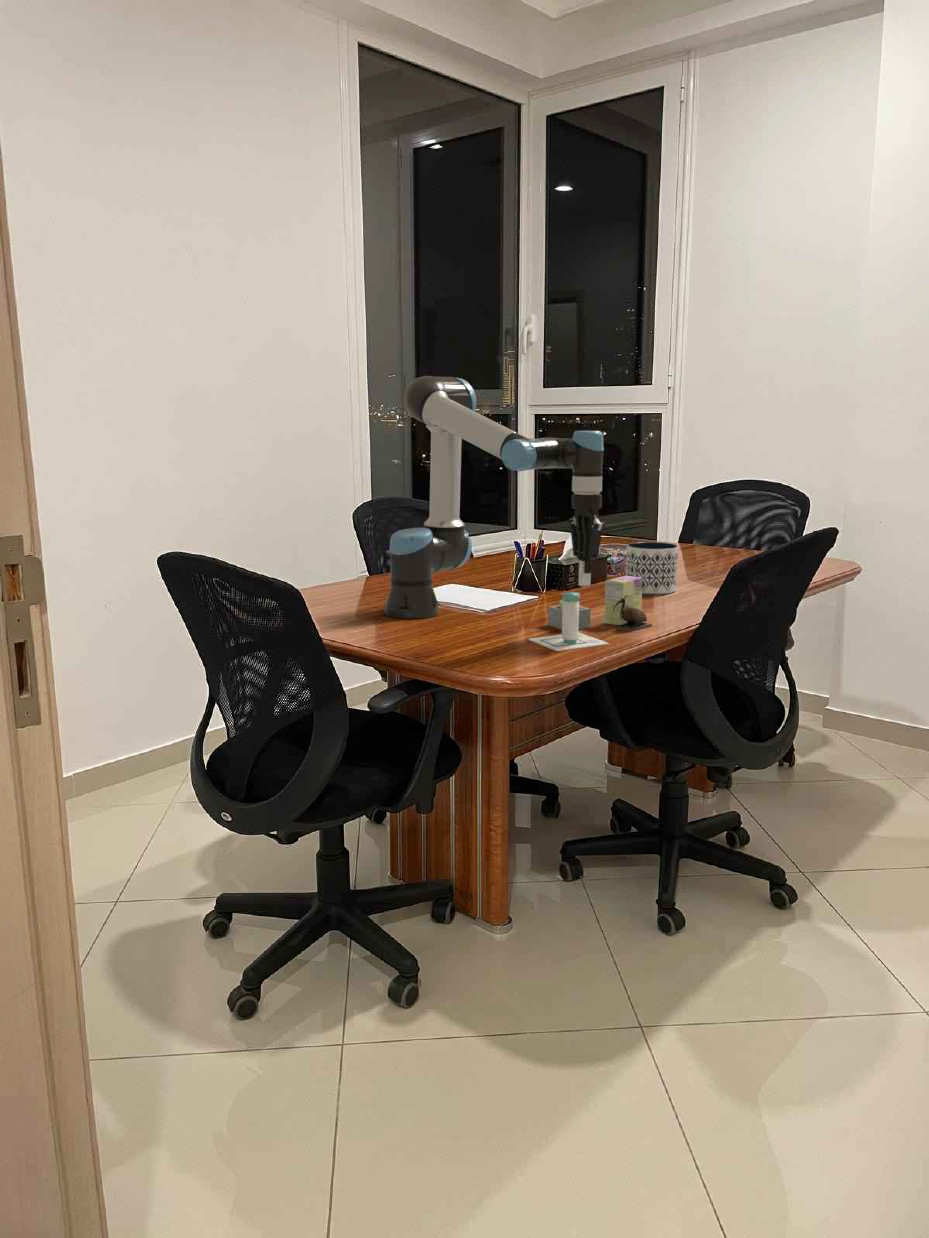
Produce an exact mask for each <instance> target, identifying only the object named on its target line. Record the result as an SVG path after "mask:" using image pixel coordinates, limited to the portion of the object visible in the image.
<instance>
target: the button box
mask: <svg viewBox="0 0 929 1238" xmlns="http://www.w3.org/2000/svg"><path fill="white" fill-rule="evenodd" d="M591 609H592V608H589V607H585V606H583V605H579V630H581V629H582V630H583V629H590V628H591ZM547 626H550V627H553V628H555V629H558V630H561V631H562V609H560V604H558V605H548V606H547Z"/></svg>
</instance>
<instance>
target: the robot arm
mask: <svg viewBox="0 0 929 1238" xmlns="http://www.w3.org/2000/svg"><path fill="white" fill-rule="evenodd" d="M403 396H404V397H403V402H404V406H405V409H406V411H407V412H408V414H409V415H410V416H411V417H413V418H414V420H415V419H416V420H417V421H419V422H421V423H423V424H425V427H426V428H427V429H428V430H429V431H430V465H429V466H430V469H429V470H430V472H429V473H430V474H429V475H430V477H429V479H430V480H429V517H428V519H426V520H425V522H424V523H423V527H412V528H404V529H400V530H397V531H395V532H393V533H392V534H391V536H390V540H389V548H388V549H389V568H390V569H389V570H390V588H389V591H388V593H387V598H386V601H385V605H384V614H385V616H387V617H391V618H394V619H395V618H396V619H424V618H432V617H434V616H437V615H438V614H440V611H439V609H440V607H439V603H438V599H437V596H436V593H435V589H434V587H433V574H434V573H438V572H445V571H452V570H456V569H457V568H460V567H462V566H464V565H465V563H467V562H468V561H469V560H470V559H469V558H470V556H471V554H472V550H473V543H472V542H473V541H472V539H471V537H470V535H469V532H468V531H466V530H465V523H464V522H463V520H462V519H461V518H460V513H461V512H460V511H461V510H460V508H461V505H460V504H461V474H462V472H461V470H462V440H464V441H466V442H468V443H469V444H471V445H474V446H475V447H477V448H479V449H481V450H483V451H485V452H486V453H489V454H491V455H493V456H495V457H497V458H499V459H500V460H502V463H503V464H504V466H505V468H507V469H509V470H511V471H517V472H524V471H529V470H530V471H531V470H532V471H533V470H544V469H572V477H571V478H572V480H571V492H573V493H572V495H571V508H572V509H574V515H573V517H572V518H568V520H567V521H568V525H569V528H570V536H571V537H570V539H571V547H572V554H573V557H577V560H578V568H577V569H578V586H579V587H586V586H588V587H589V586H591V582H592V580H591V579H592V578H591V577H592V575H591V574H592V564H593V562H592V561H593V560H596V559H598V557H599V552H600V546H601V541H602V535H603V531H604V528H605V526H606V525H605V524H606V523H604V522H602V521H600V518H599V517H600V516H599V513H598V512H599V510H601V508H602V505H603V503H602V502H603V495H602V494H601V493H602V491H603V468H604V467H603V464H604V451H605V447H604V434H603V433H602V431H600V430H575V431H574V432H573V436H572V438H565V437H564V438H563V437H562V438H561V437H549V436H548V437H541V438H528V437H526V436H524V435H522V434H520V433H517V432H516V431H514V430H512V429H510V428H508V427H507V426H504V425H503V424H500V423H498V422H497V421H494V420H492V419H490V418H488V417H487V416H484V415H483V414H480V413H479V412H476V408H477V397H476V392H475V390H474V388H473V386H471V384H470V383H469V382H468V381H467V380H465V379H463V378H460V377H455V376H454V377H453V376H431V375H424V376H419V377H416V378H415V379H413V380H412V381H411V382H410V383H408V385H407V387H406V389H405V391H404V395H403Z"/></svg>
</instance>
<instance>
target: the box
mask: <svg viewBox="0 0 929 1238" xmlns="http://www.w3.org/2000/svg"><path fill="white" fill-rule="evenodd" d="M604 583H605V584H604V585H605V587H604V620H603V621H604V624H607V625H613V626H621V624H625V623H627V622H626V621H625V620H624V619H622V618H621V616H620V612H621V607H622V603H619V604H618V605H616V603H617V602H618V601H620V600H621V599H622V598H624V599H625V606H624V608H626V607H633V608H637V609H639V610H641V611H642V610H643V609H642V608H643V607H642V605H643V604H642V601H643V594H642V577H634V576H626V575H624V576H619V577H615V578H611V579H606V580H604ZM615 605H616V607H615ZM614 607H615V609H614ZM613 609H614V612H613Z"/></svg>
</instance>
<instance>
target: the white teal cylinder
mask: <svg viewBox="0 0 929 1238" xmlns="http://www.w3.org/2000/svg"><path fill="white" fill-rule="evenodd" d="M561 596H562V599H561V600H563V608H562V630H561V635H562V639H563V642H564V643H568V644H574V643H577V639H578V633H580V632H579V630H580V629H579V606H580V598H581V593H580V592H575V591H573V592H572V591H569V592H567V591H566V592H562V595H561Z"/></svg>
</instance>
